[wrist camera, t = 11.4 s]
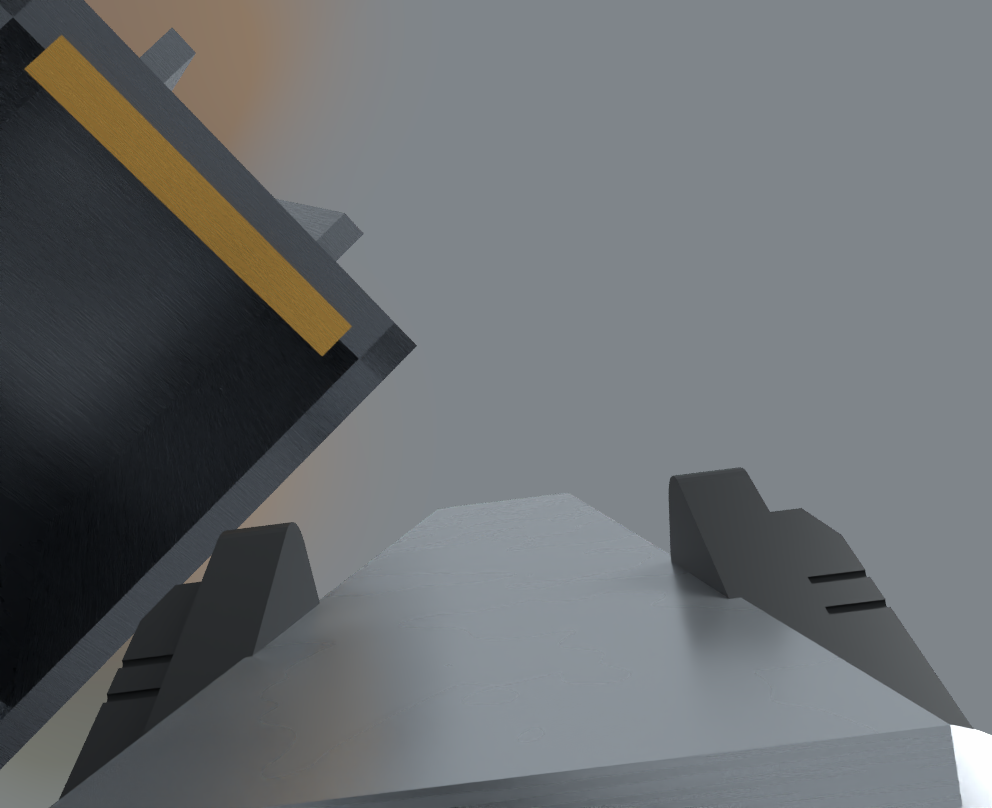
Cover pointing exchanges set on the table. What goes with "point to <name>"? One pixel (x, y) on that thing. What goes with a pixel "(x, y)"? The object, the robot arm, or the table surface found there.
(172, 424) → the rack
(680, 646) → the panel
